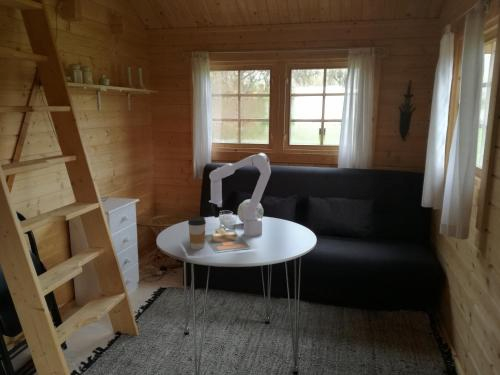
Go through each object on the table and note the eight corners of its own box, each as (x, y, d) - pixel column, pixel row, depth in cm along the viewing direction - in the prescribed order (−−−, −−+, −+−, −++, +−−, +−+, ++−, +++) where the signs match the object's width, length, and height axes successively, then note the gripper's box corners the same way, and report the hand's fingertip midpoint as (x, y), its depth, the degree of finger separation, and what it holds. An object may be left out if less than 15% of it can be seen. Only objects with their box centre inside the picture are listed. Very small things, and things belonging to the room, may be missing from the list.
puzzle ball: (240, 229, 224) (240, 202, 222) (235, 222, 239) (235, 197, 236) (266, 227, 228) (266, 201, 225) (259, 220, 242) (259, 196, 240)
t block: (230, 233, 213) (230, 227, 213) (236, 239, 202) (236, 233, 202) (208, 235, 209) (207, 229, 209) (213, 242, 198) (213, 236, 198)
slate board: (234, 233, 215) (234, 231, 215) (250, 249, 191) (250, 247, 191) (202, 237, 210) (201, 235, 209) (214, 253, 185) (214, 251, 185)
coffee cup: (203, 252, 186) (202, 221, 184) (186, 251, 188) (185, 220, 185) (208, 246, 195) (208, 216, 192) (192, 245, 196) (191, 215, 193)
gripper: (205, 190, 217) (206, 214, 220) (212, 195, 204) (212, 221, 206) (218, 189, 220) (218, 213, 222) (225, 194, 206) (225, 220, 209)
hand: (216, 217), depth 214 cm, fingers closed
